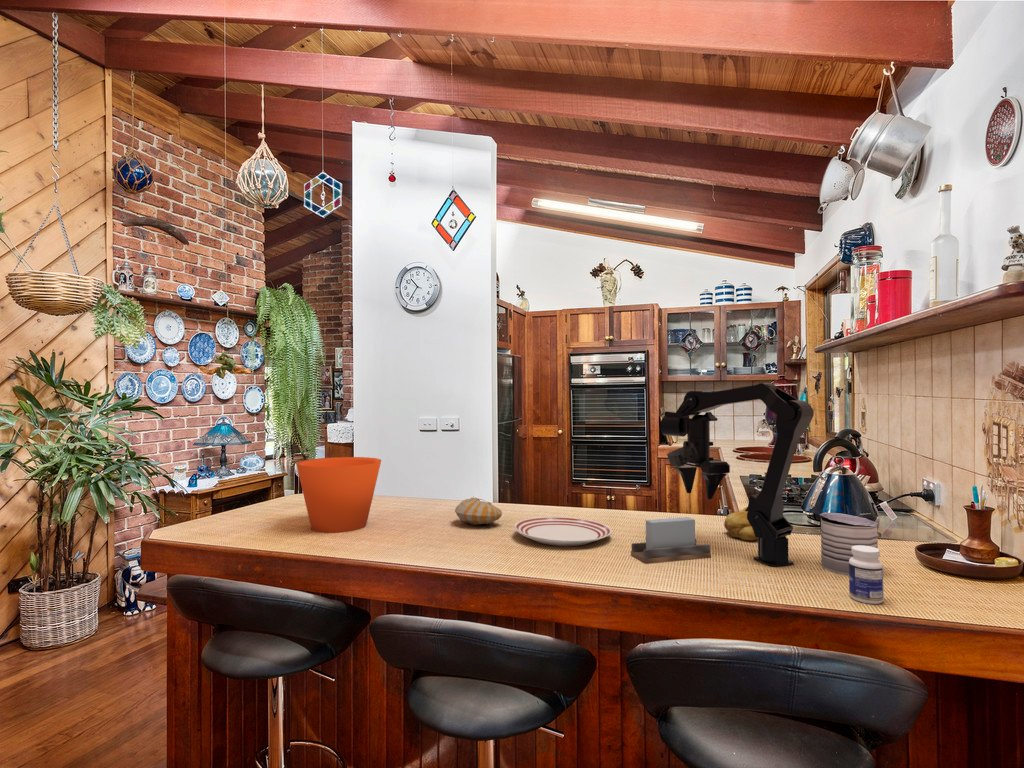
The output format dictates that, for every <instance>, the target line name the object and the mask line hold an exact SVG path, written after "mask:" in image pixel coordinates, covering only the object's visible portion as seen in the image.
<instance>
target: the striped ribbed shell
mask: <svg viewBox="0 0 1024 768" xmlns="http://www.w3.org/2000/svg"><path fill="white" fill-rule="evenodd" d="M454 512H455V514H456V516H457V517H458V519H459V520H460V521H462V522H466V523H469V524H471V525H474V526H477V525H488V526H489V525H490V524H491V523H493V522H496V521H498V520H500V518H501V517H502V514H503V512H502V510H501V509H500V508H499V507H497V506H495V505H493V504H492V503H491V502H490V501H487V500H486V501H485V500H484V499H482V498H478V497H474V495H473V497H470V498H466V499H463V500H462V501H461V502H459V504H458V505H457V506H456V507H455V508H454Z"/></svg>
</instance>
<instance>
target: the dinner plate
mask: <svg viewBox="0 0 1024 768" xmlns="http://www.w3.org/2000/svg"><path fill="white" fill-rule="evenodd" d="M513 529H514V530H515V531H516V533H518V534H520V535H521V536H524V537H525V538H527V539H530V540H533V541H535V542H537V543H541V544H545V545H549V546H557V547H558V546H559V547H574V546H583V545H588V544H591V543H594V542H597V541H600V540H602V539H604V538H605V539H606V538H607V537H609V536H611V534H612V532H613V530H612V528H611V527H610V526H608V525H606V524H604V523H602V522H598V521H595V520H592V519H587V518H579V517H570V516H569V517H568V516H538V517H536V516H535V517H530V518H525V519H522V520H519V521H517V522H516V523H515V524H514V525H513Z"/></svg>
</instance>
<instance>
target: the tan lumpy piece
mask: <svg viewBox="0 0 1024 768" xmlns="http://www.w3.org/2000/svg"><path fill="white" fill-rule="evenodd" d="M747 507H748V506H747ZM747 507H744V508H743V509H741V510H740V511H734V512H730V513H729V514H727V515H726V517H725V519H724V522H723V526H724V528H725V530H726V531H727V532H728V534H730V536H731V537H734V538H737V539H738V538H739V539H741V540H742V541H743V540H744V541H755V540H758V539H759V538H758V537H755V534H754V531H753V528H752V526H751V525H750V523H749V521H748V520H747V512H748V511H745V510H746V509H747Z"/></svg>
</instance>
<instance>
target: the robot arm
mask: <svg viewBox="0 0 1024 768" xmlns="http://www.w3.org/2000/svg"><path fill="white" fill-rule="evenodd" d="M753 401H761V402H763V404H764V405H765V406H766V407H767V408H768V409H769V410H770V411H771V412H773V413H774V414H775V421H774V424H775V430H776V437H775V438H776V439H775V442H774V444H773V445H774V446H773V449H772V452H771V455H770V459H769V463H768V466H767V469H766V473H765V477H764V480H763V483H762V486H761V490H760V492H758V493H756V494H752V495H750V496H749V498H748V505H747V509H746V510H745V511H748V512H747V520H748V521H749V523H750V525H751V526H752V528H753V531H754V534H755V537H758V539H757V555H758V556H753V560H755V561H758V562H760V563H762V564H764V565H767V566H770V567H780V566H791V565H795V561H793V560H790V559H789V538H788V537H787V536H791V535H792V533H793V530H794V526H793V525H792V524H791V523H790V522H789V521H788V519H787V518H786V517H785V516H784V509H785V508H784V507H785V505H784V499H783V493H784V489H785V486H786V483H787V480H788V476H789V473H790V469H791V466H792V463H793V459H794V457H795V452H796V449H797V446H798V442H799V440H800V438H801V437H802V436H803V435H804V433H805V432H806V431H807V429H808V427H809V426H810V424H811V423H812V420H813V418H814V415H815V414H814V413H815V412H814V408H813V407H812V405H811V404H810V403H809V402H807V401H806V400H801V399H797V398H796V397H795V396H794V395H791V394H790V393H788V392H786V391H784V390H782V389H781V388H779V387H777V386H776V385H775V384H774V383H772V382H760V383H758V384H754V385H747V386H741V387H734V388H728V389H723V390H718V391H717V390H715V391H714V390H713V391H712V390H690V391H687V392H686V393H685V395H684V398H683V401H682V403H681V404H680V406H679V407H678V408H677V410H676V412H675V411H664V416H662V418H661V421H660V423H659V429H660V432H661V434H662V435H663V436H665V437H666V436H669V437H687V438H686V440H683V443H682V447H679V448H676V449H674V450H672V451H670V452H668V453H666V455H667V459H668V461H669V465H670V466H671V467H672V466H673V469H674V470H676V471H677V472H678V473H679V474H680V476H681V479H682V483H683V486H684V489H685V491H686V494H692V491H693V487H694V482H695V478H696V473H697V471H698V470H697V469H698V468H699V469H701V472H700V475H701V476H702V477H703V479H704V481H705V492H706V498H707V500H712V499H713V497H714V495H715V494H716V491H717V489H718V487H719V485H720V484H721V482H722V480H724V477H726V476H727V475H728V474H730V473H731V466H730V463H728V462H727V461H723V460H714V457H712V456H711V447H713V446H714V441H710V440H711V436H710V435H711V433H710V432H711V429H710V428H711V427H710V424H711V423H710V422H717V421H718V420H719V419H718V418H717V417H716V416H715V415H714V414H713V412H712V411H713V410H716V409H718V408H720V407H723V406H725V405H732V404H738V403H746V402H753ZM701 413H704V414H701ZM690 416H692V417H690Z"/></svg>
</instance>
